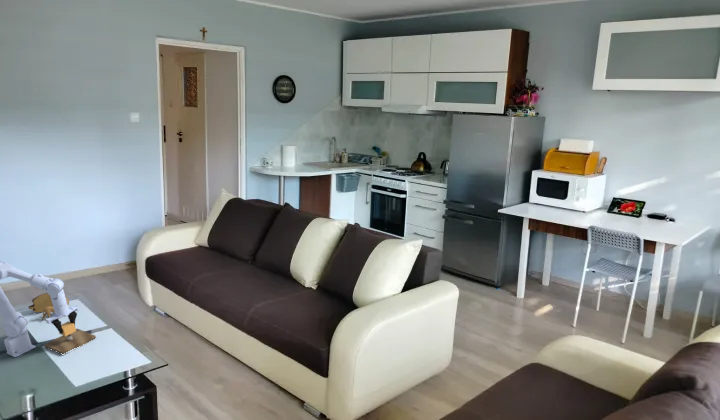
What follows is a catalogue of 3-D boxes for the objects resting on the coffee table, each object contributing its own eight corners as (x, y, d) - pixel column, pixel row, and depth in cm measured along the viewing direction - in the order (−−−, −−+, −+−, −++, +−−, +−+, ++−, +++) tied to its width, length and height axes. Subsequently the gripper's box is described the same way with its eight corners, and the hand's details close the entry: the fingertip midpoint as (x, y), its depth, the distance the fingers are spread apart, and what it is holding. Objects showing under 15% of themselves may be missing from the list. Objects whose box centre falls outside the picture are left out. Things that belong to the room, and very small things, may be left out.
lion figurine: (70, 309, 280) (66, 295, 278) (73, 313, 276) (69, 298, 274) (40, 320, 271) (35, 305, 268) (42, 323, 267) (37, 308, 265)
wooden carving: (61, 302, 290) (57, 286, 287) (64, 304, 287) (60, 288, 284) (29, 315, 278) (24, 298, 275) (32, 317, 275) (27, 300, 272)
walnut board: (63, 355, 236) (61, 347, 234) (45, 347, 244) (42, 339, 243) (96, 338, 248) (94, 330, 247) (77, 331, 257) (75, 323, 255)
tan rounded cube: (65, 336, 241) (63, 328, 240) (59, 333, 244) (57, 326, 243) (76, 331, 245) (74, 323, 244) (70, 328, 248) (68, 321, 247)
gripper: (48, 313, 232) (56, 339, 236) (79, 299, 244) (86, 324, 248) (40, 310, 236) (48, 335, 240) (71, 296, 247) (78, 321, 251)
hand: (67, 329), depth 244 cm, fingers closed on tan rounded cube, 5 cm apart
